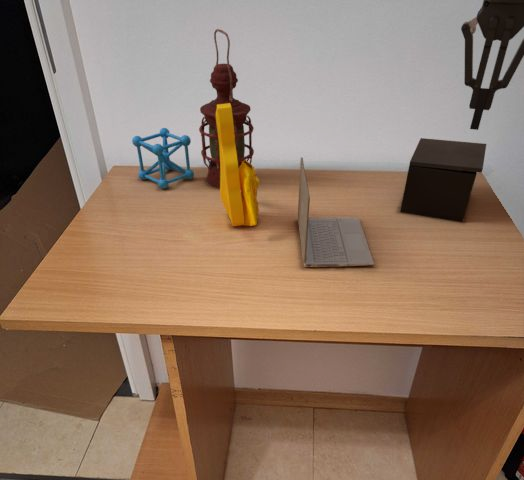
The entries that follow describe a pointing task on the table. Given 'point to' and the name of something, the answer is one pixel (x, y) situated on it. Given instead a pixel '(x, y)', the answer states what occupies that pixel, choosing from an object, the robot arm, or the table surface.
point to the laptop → (329, 236)
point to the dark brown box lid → (449, 155)
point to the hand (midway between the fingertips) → (474, 127)
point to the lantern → (224, 84)
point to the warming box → (437, 192)
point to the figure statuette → (235, 174)
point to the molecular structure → (163, 157)
